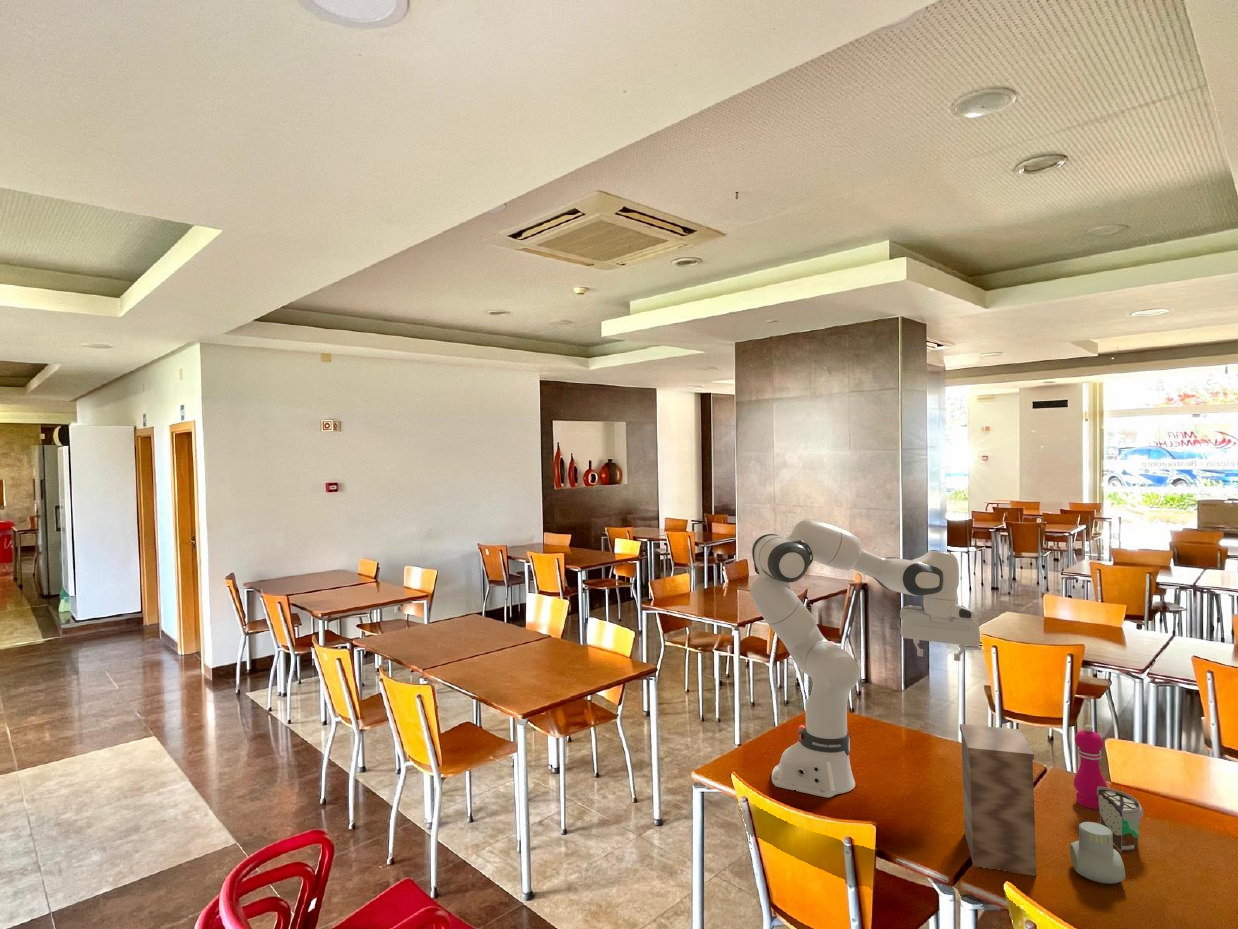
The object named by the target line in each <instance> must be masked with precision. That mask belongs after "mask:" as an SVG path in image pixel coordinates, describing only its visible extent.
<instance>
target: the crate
mask: <svg viewBox="0 0 1238 929" xmlns="http://www.w3.org/2000/svg"><path fill="white" fill-rule="evenodd" d="M959 731H960V733H961V734H960V736H961V739H960V740H961V761H962V762H961V763H962V768H961V769H962V790H963V791H962V793H963V794H962V795H963V796H962V797H963V823H964V835H965V840H966V843H967V847H968V851H969V856H970V858H971V862H972V865H973V868H979V867H982V869H986V868H988V869H987V870H992V869H1000V870H1006V871H1009V872H1008V873H1012V874H1013V873H1014V874H1020V875H1026V876H1034V877H1038V876H1037V851H1036V849H1037V848H1036V847H1037V846H1036V824H1035V823H1036V822H1035V821H1036V820H1035V817H1036V816H1035V794H1034V792H1035V790H1034V763H1033V762H1034V761H1033V760H1035V753H1034V751H1033V750H1032V748H1031V746H1030V745H1029V743H1028V741H1027V739H1026V737H1025V736H1024V734H1023V733H1022V731H1021V729H1019V728H1008V727H999V726H998V727H996V726H988V725H987V726H986V725H985V726H984V725H973V724H966V723H965V724H963V723H960V724H959ZM1006 871H1005V872H1006Z"/></svg>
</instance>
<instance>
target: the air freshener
mask: <svg viewBox="0 0 1238 929" xmlns="http://www.w3.org/2000/svg"><path fill="white" fill-rule="evenodd" d="M1069 853H1070V854H1069V855H1070V861H1071V863H1072V866H1073V869H1074V871H1075V872H1076V873H1077V874H1079V875H1081V876H1082V877H1084V878H1086V879H1088V880H1090V881H1093V882H1095V883H1098V884H1099V883H1101V884H1104V885H1105V884H1107V885H1108V884H1111V885H1112V884H1117V883H1120V882H1122V881H1125V879H1126V870H1125V865H1124V862H1123V859H1122V856H1121V855H1120V853H1119V852H1118V851H1117V850H1116V849H1115V848H1114V844H1113V834H1112V831H1111V830H1110V829H1109V828H1107V827H1106V826H1104V825H1101V824H1100V823H1097V822H1093V821H1083V822H1081V823H1079V825H1078V840H1075V841H1073V842H1071V843H1070V845H1069Z"/></svg>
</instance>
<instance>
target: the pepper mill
mask: <svg viewBox="0 0 1238 929" xmlns="http://www.w3.org/2000/svg"><path fill="white" fill-rule="evenodd" d="M1093 730H1094V728H1093V726H1092V725H1090V724H1086V725H1084V729H1083V730H1079V731H1078V732H1076V733H1075V736H1074V742H1075V744H1076V746H1077V747H1078V748H1077V755H1078V756H1079V757H1080V763H1079V767H1078V769H1077V771H1076V773H1075V775H1074V778H1073V786H1074V789H1075V790H1076V791H1077V792H1076V794H1075V795H1076V796H1075V797H1076V802H1077V803H1078V804H1079V805H1080V806H1082V805H1083V807H1085V808H1088V809H1091V808H1094V809H1093V810H1099V800H1098V794H1097V789H1098V787H1106V788H1109V787H1108V784H1107V781H1106V779H1105V777H1104V775H1103V773H1102V772H1101V768H1100V759H1102V752H1101V751H1102V750H1103V748H1104V740H1103V738H1102V737H1101V735H1100V734H1099V733H1098V732H1095V731H1093Z"/></svg>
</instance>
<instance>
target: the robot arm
mask: <svg viewBox="0 0 1238 929" xmlns="http://www.w3.org/2000/svg"><path fill="white" fill-rule="evenodd" d="M792 529H793V530H792V533H791V534H789V536H787V537H783V536H780V535H778V534H775V533H768V534H763V535H761V536H760V537H758V538H757V539H756V540H755V541H754V543H753V545H752V547H751V548H752V549H751V554H752V560H753V568H754V572H755V573H756V574H757V575H758V577H757V578H756V579H755V580H754V581H753V582H752V583H751V586H750V589H749V595H750V598H751V601H752V602H753V604H754V605H755V608H756V609H757V610H758V612H759V614H760V615H761V617H762V618H763V619H764V621H765V623H766V624H767V625H768V626H769V627H770V628H771V630H772V631H773V632H774V633H775V634H776V636H777V637H778V638H779V639H780V641H781V642H782V643H783V645H784V646H785V648H786V650H787V652H788V653H789V655H790V657H791V658H792V660H793V662H794V663H795V665H796V666H797V667H798V669H799V670H801V672H802V673H803V674H806V675H807V676H808V677H810V678H811V682H812V688H811V693H810V696H809V697H808V698H807V699H806V700H805V703H804V707H805V708H804V709H805V713H804V714H805V725H803V724H800V725H799V726H798V728H797V731H798V741H797V742H796V743H794V744H792V745H791V746H789V747H787V748H786V749H785V750H784V751H783V753H781V758H780V760H779V763H778V764H776V765H775V766H774V767H773V769H772V772H771V782H772V784H773V786H774V787H778V788H782V789H785V790H791V791H794V790H796V792H799V793H805V794H810V795H814V796H818V797H823V798H832V797H834V796H836V795H839V794H845V793H848V792H850V791H852V790H854V789H855V786H856V782H855V779H854V778H855V777H854V775H853V771H852V766H851V761H850V751H851V743H850V742H851V741H850V739H851V738H850V733H849V731H848V718H847V717H848V710H847V709H848V708H847V707H848V701H849V696H850V694H851V693H850V692H851V690H852V689H853V688H855V686H856V685H857V684H858V681H859V679H860V675H861V674H860V673H861V672H860V671H861V670H860V667H859V664H858V662H857V661H856V660H855V659H854V657H853V656H852V655H851V654H850V653H849V652H848V651H846V650H844V649H843V648H841V647H838V646H837V645H835V644H833V643H832V642H830V641H829V640H828V639H826V638H825V636H824V635H823V634H822V632H821V630H820V629H819V627H818V624H817V620H816V618H815V617H814V616H813V615H812V613H811V612H810V611H809V609H808V608H807V606H805V604H804V603H803V602H802V601H801V599H800V598H799V597H798V595H796V593H795V592H794V591H793V588H791V585H790V583H795V582H797V581H799V580H800V579H802V578H803V577H804V576H805V575H806V573H807V571H808V569H809V567H810V566H811V564H812V563H813V561H814V562H817V563H820V564H822V565H825V566H828V567H829V568H834V569H839V570H843V571H849V570H854V571H857V572H859V573H861V574H864V575H866V576H869V577H870V578H873V579H874V580H875V581H876V582H877V583H878V584H879V585H880V586H881V587H882V588H883V589H885V590H886V591H889V592H894V593H901V594H905V595H910V596H912V597H920V596H923V603H922V604H923V606H921V605H919V606H918V605H910V604H908V605H905V606H902V607H901V608H900V611H899V616H900V620H901V622H900V623H901V625H900V630H899V631H900V635H901V637H902V638H903V639H908V640H909V639H910V640H913V644H914V646H915V648H916V650H917V652H916V653H917V654H916V656H918V657H924V649H923V648H920V647H919V644H920V641H925V642H926V641H927V642H934V643H943V644H952V645H958V648H959V650H958V652H957V653H956V652H955V653H953V661H955V662H961V656H962V654H963V653H964V652H965V650H966V646H968V647H978V646H980V643H981V632H980V627H979V624H978V622H977V621H976V617H977V614H976V612H975V610H973V609H971V608H968V607H966V606H964V605H960V604H959V597H958V596H959V595H958V587H959V585H960V584H959V583H960V569H959V568H960V567H959V561H958V558H957V556H956V555H955V554H953V553H950V552H947V551H943V550H942V551H941V550H938V549H930V550H928V551H927V552H926V553H925V554H924V555H921V556H919V557H917V558H914V559H904V558H900V557H896V556H888V557H881V556H878V555H876V554H873V553H871V552H869V551H866V550H864V549H863V548H862V547H863V546H862V543H861V540H860V539H859V537H857V536H856V535H854V534H853V533H851V532H849V530H846V529H844V528H840V527H839V526H836V525H833V524H830V523H828V522H823V521H819V520H816V519H807V518H806V519H802V520H800V521H799V522H798V523H797V524H796V525H795V526H794V527H793V528H792Z"/></svg>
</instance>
